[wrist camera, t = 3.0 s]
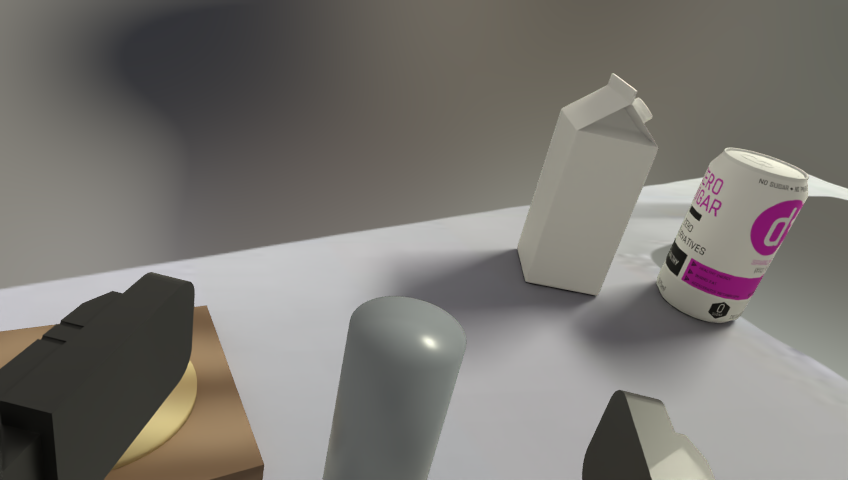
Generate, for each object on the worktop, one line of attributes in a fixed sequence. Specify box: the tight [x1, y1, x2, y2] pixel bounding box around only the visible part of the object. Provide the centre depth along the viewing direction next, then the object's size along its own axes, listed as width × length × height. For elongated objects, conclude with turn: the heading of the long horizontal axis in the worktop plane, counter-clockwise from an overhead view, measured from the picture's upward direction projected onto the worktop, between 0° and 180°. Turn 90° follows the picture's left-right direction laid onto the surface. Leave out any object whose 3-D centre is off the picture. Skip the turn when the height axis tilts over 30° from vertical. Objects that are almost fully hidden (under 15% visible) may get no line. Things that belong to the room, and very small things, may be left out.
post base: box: [0, 306, 264, 480], centre depth 30 cm, size 14×14×2 cm
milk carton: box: [517, 74, 658, 296], centre depth 52 cm, size 7×7×19 cm
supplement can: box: [656, 148, 809, 323], centre depth 54 cm, size 8×8×15 cm
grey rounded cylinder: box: [323, 296, 466, 480], centre depth 26 cm, size 5×5×12 cm
